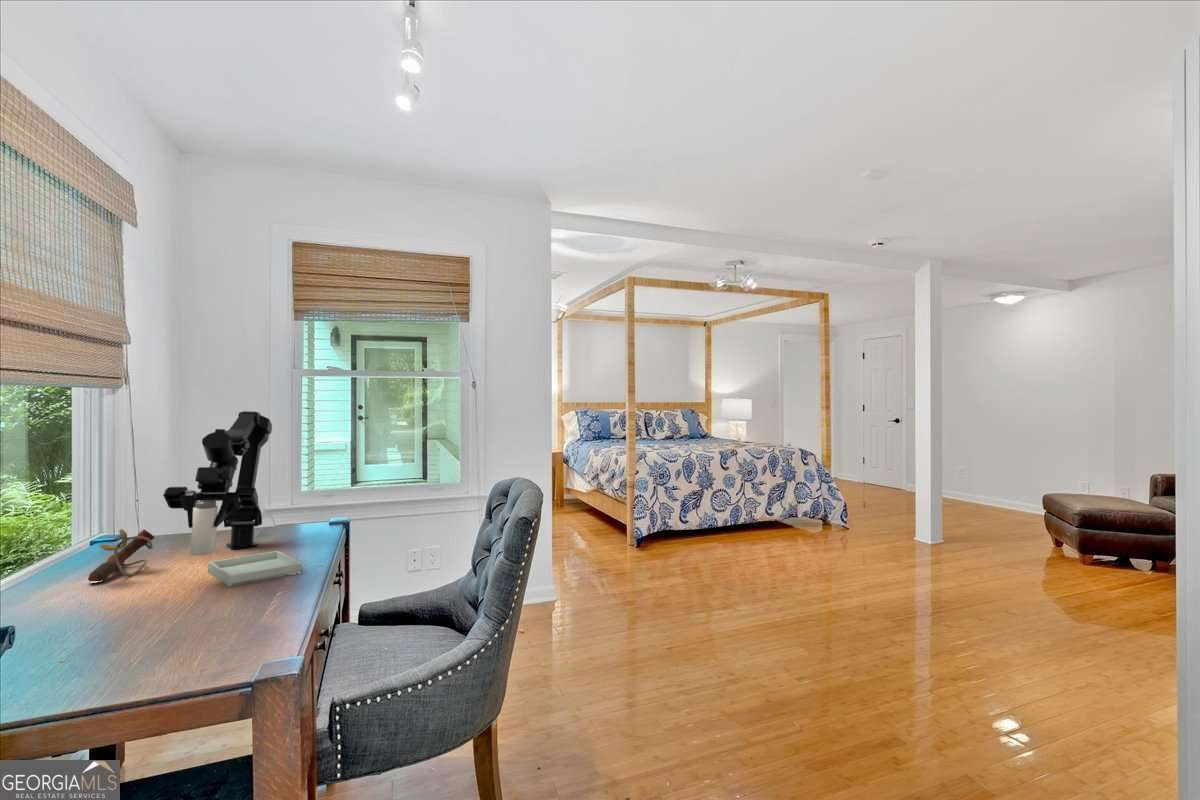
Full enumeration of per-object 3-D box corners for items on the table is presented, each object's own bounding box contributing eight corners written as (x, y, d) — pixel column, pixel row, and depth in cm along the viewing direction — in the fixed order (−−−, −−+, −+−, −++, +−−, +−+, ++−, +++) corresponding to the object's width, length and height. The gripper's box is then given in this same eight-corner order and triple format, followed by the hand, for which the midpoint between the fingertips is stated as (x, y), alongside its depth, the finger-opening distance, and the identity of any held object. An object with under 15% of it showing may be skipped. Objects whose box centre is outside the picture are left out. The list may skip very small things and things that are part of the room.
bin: (207, 571, 137) (208, 561, 137) (277, 559, 149) (277, 550, 149) (229, 587, 126) (229, 576, 126) (301, 572, 139) (302, 563, 139)
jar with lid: (186, 553, 129) (189, 502, 129) (209, 548, 133) (211, 499, 133) (197, 556, 127) (199, 504, 127) (219, 552, 131) (221, 502, 131)
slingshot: (51, 584, 123) (98, 548, 137) (92, 611, 127) (134, 573, 141) (104, 541, 122) (146, 509, 136) (144, 569, 125) (181, 535, 140)
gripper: (168, 453, 131) (144, 508, 120) (257, 454, 137) (241, 506, 126) (180, 481, 138) (159, 534, 128) (264, 480, 144) (250, 532, 134)
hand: (202, 526), depth 129 cm, fingers closed on jar with lid, 5 cm apart
